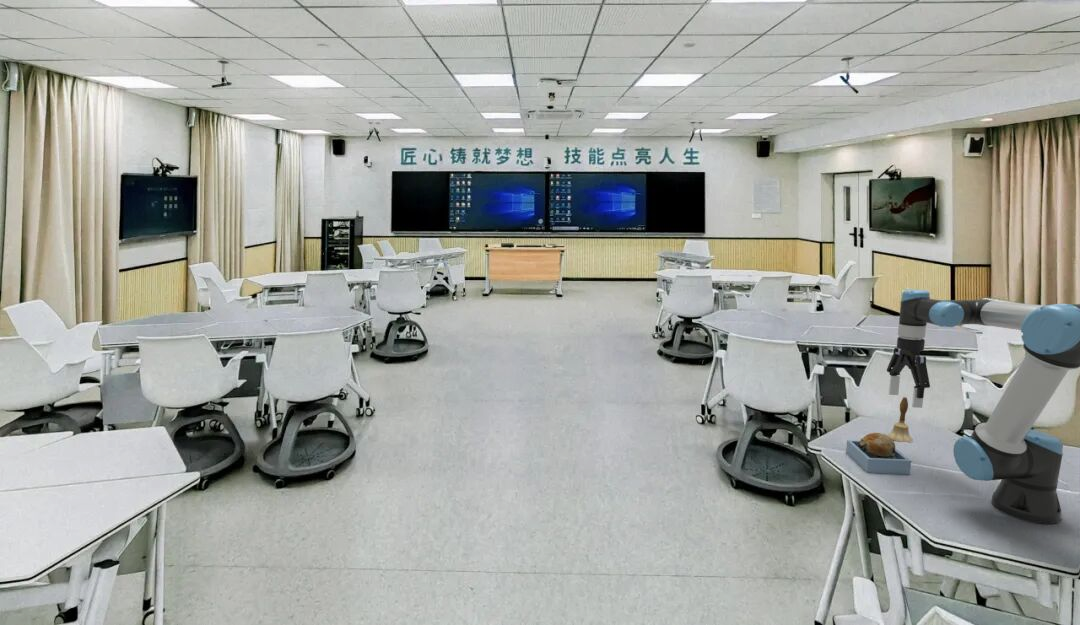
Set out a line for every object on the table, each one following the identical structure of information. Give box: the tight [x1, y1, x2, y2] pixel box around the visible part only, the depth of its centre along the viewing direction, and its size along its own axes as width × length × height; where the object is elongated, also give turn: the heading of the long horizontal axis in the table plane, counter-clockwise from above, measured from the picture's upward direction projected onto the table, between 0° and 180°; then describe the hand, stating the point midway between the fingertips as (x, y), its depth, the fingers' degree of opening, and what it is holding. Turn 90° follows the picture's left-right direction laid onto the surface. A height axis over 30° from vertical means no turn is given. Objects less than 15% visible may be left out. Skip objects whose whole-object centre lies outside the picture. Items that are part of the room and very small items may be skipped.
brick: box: [860, 448, 896, 459], centre depth 193 cm, size 10×7×4 cm
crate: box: [845, 439, 912, 475], centre depth 193 cm, size 16×13×6 cm
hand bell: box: [886, 396, 914, 443], centre depth 216 cm, size 8×8×16 cm
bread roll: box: [859, 432, 896, 457], centre depth 192 cm, size 10×10×8 cm
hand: (904, 400), depth 191 cm, fingers open, 13 cm apart
